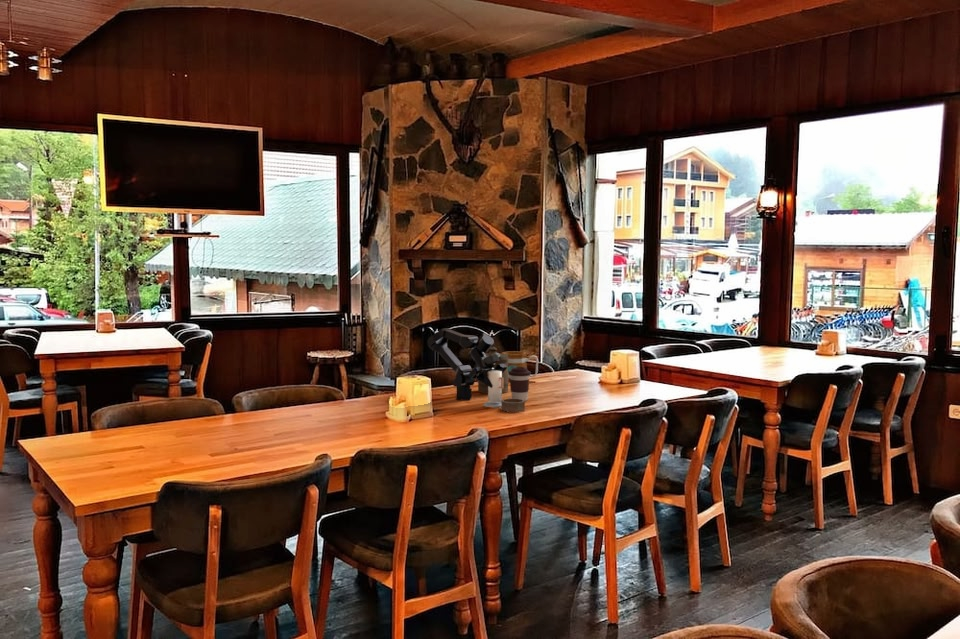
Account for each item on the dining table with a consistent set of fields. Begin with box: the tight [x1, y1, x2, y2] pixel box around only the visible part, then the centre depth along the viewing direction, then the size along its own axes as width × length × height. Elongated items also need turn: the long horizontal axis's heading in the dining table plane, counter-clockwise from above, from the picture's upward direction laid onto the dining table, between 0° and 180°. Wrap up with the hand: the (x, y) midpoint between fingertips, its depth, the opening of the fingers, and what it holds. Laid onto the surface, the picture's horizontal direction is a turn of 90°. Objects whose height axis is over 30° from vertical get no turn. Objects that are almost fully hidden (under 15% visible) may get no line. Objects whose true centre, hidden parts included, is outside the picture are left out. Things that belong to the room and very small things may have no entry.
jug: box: [487, 371, 504, 402], centre depth 338 cm, size 8×6×13 cm
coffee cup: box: [509, 367, 531, 401], centre depth 352 cm, size 10×10×15 cm
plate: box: [483, 401, 501, 409], centre depth 339 cm, size 10×10×1 cm
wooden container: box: [477, 346, 509, 394], centre depth 375 cm, size 15×15×22 cm
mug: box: [501, 350, 539, 383], centre depth 406 cm, size 20×14×15 cm
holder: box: [500, 397, 526, 413], centre depth 331 cm, size 10×10×4 cm
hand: (497, 386), depth 338 cm, fingers closed on jug, 6 cm apart
